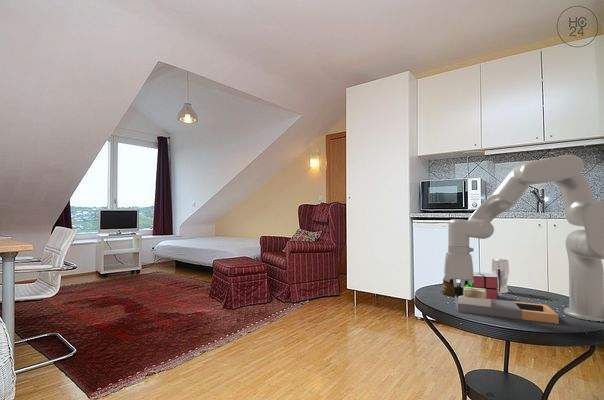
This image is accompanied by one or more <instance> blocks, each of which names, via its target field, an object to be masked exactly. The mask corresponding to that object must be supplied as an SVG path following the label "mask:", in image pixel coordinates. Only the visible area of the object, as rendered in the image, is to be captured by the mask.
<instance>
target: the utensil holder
mask: <svg viewBox="0 0 604 400" xmlns="http://www.w3.org/2000/svg"><path fill="white" fill-rule="evenodd" d="M452 280H453V279H452ZM442 281H443V282H442V284H441V292H442V294H443V295H444V296H448V297H455V296H456V295H455V294H454V285H453V284H452V283H451V282H448V281H445V280H444V277H443V278H442Z"/></svg>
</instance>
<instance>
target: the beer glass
mask: <svg viewBox="0 0 604 400" xmlns="http://www.w3.org/2000/svg"><path fill="white" fill-rule="evenodd" d="M509 273H510V265H509V260H508V259H503V258H492V259H491V274H492V275H493V276H495V277H497V278H498V288H497V289H498V294H499V293H500V294H508V293H509V291H508V290H509V289H508V280H509V276H510V275H509Z"/></svg>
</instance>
